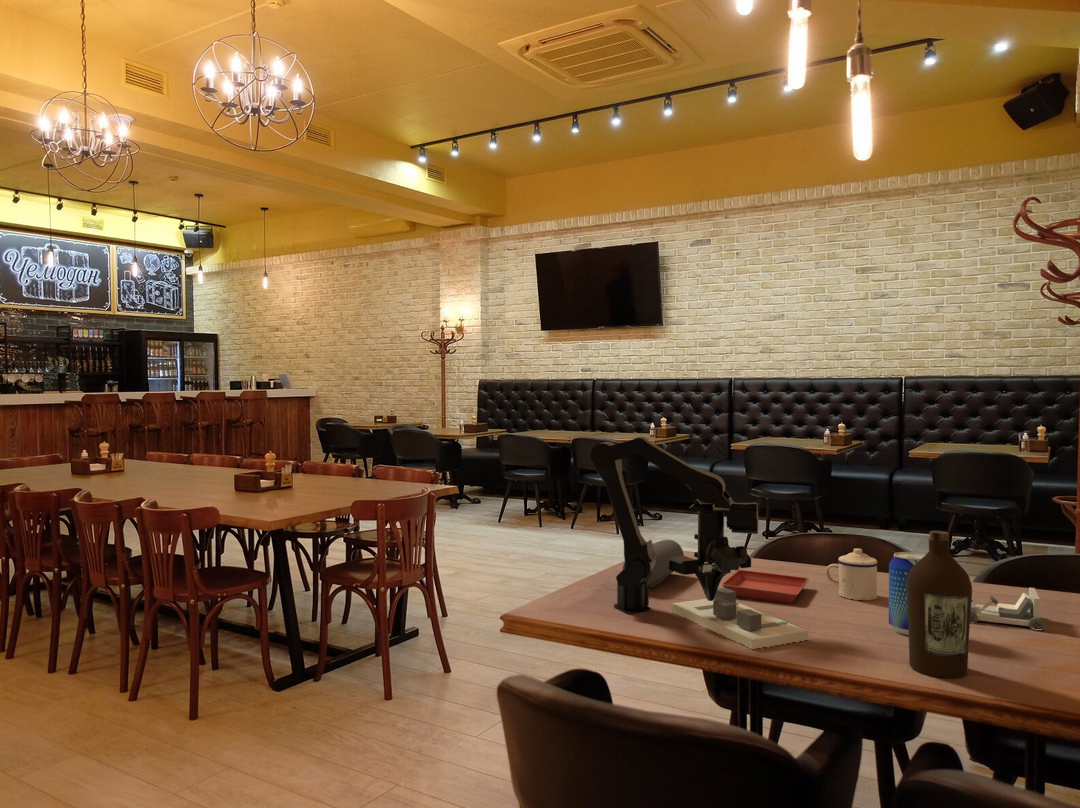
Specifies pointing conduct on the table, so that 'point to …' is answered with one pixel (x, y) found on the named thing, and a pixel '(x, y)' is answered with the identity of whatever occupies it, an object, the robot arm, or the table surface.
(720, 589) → the grey block
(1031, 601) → the toy car
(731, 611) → the dark grey box
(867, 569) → the teacup with lid
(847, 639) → the table surface
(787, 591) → the plant saucer
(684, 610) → the switch board
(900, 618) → the beer can
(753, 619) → the dark grey block
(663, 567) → the bluetooth speaker
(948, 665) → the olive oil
